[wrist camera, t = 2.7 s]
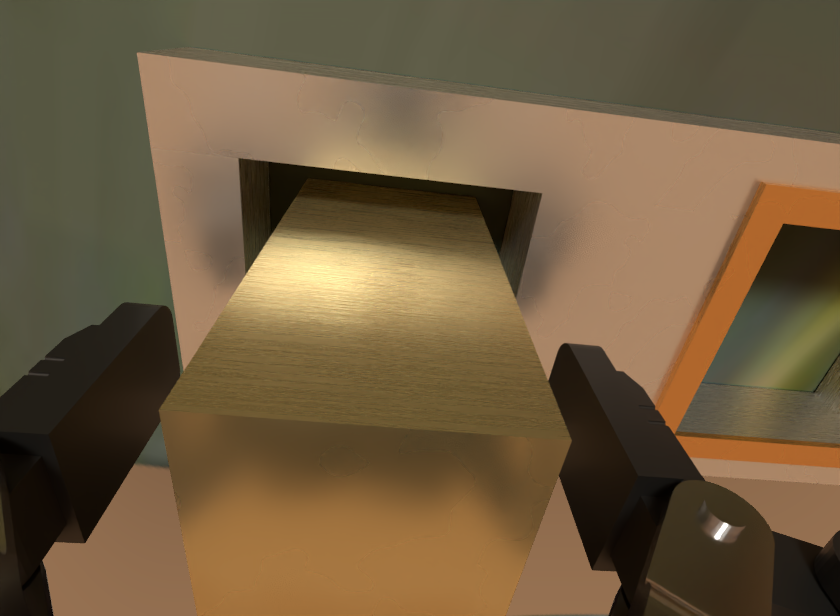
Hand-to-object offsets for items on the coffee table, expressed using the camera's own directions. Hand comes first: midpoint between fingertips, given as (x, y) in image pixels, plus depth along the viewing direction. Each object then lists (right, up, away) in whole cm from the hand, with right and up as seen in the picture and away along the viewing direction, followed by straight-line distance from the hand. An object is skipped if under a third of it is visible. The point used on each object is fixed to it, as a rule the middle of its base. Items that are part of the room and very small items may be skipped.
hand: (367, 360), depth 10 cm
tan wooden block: (0, +2, +4) cm, 5 cm away
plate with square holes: (+6, +2, +4) cm, 8 cm away
